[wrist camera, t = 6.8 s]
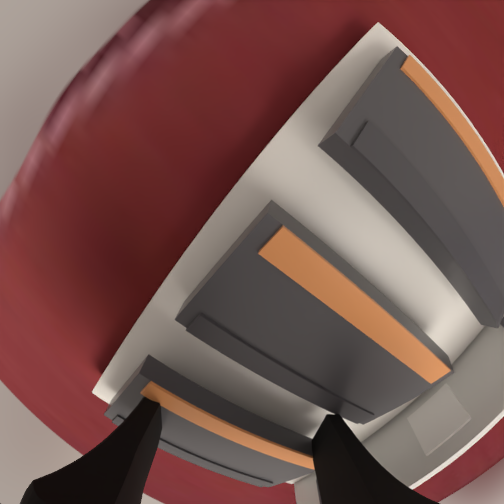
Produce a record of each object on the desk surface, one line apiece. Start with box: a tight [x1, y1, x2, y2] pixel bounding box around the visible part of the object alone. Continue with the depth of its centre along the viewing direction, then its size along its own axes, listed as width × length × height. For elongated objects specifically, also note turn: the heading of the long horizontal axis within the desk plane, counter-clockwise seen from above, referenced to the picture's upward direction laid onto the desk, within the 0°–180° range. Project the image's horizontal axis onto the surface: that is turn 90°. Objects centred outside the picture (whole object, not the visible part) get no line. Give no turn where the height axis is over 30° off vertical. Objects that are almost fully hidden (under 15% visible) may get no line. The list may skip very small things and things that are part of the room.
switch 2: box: [104, 354, 315, 487], centre depth 11 cm, size 5×10×1 cm, turn 52°
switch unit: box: [92, 23, 504, 504], centre depth 10 cm, size 21×15×6 cm
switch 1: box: [174, 200, 454, 425], centre depth 10 cm, size 5×10×1 cm, turn 52°
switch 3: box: [318, 46, 504, 328], centre depth 8 cm, size 5×10×1 cm, turn 51°
